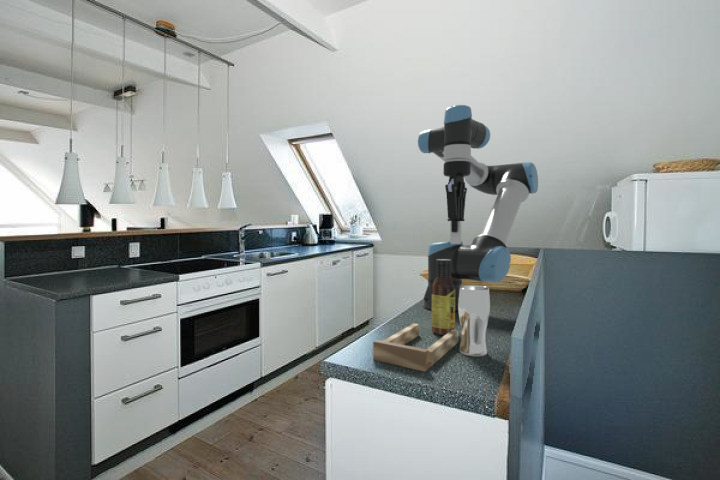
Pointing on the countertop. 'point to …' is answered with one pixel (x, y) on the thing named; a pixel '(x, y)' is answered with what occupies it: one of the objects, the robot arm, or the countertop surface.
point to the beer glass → (473, 319)
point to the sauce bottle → (443, 299)
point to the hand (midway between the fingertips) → (455, 243)
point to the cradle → (412, 349)
